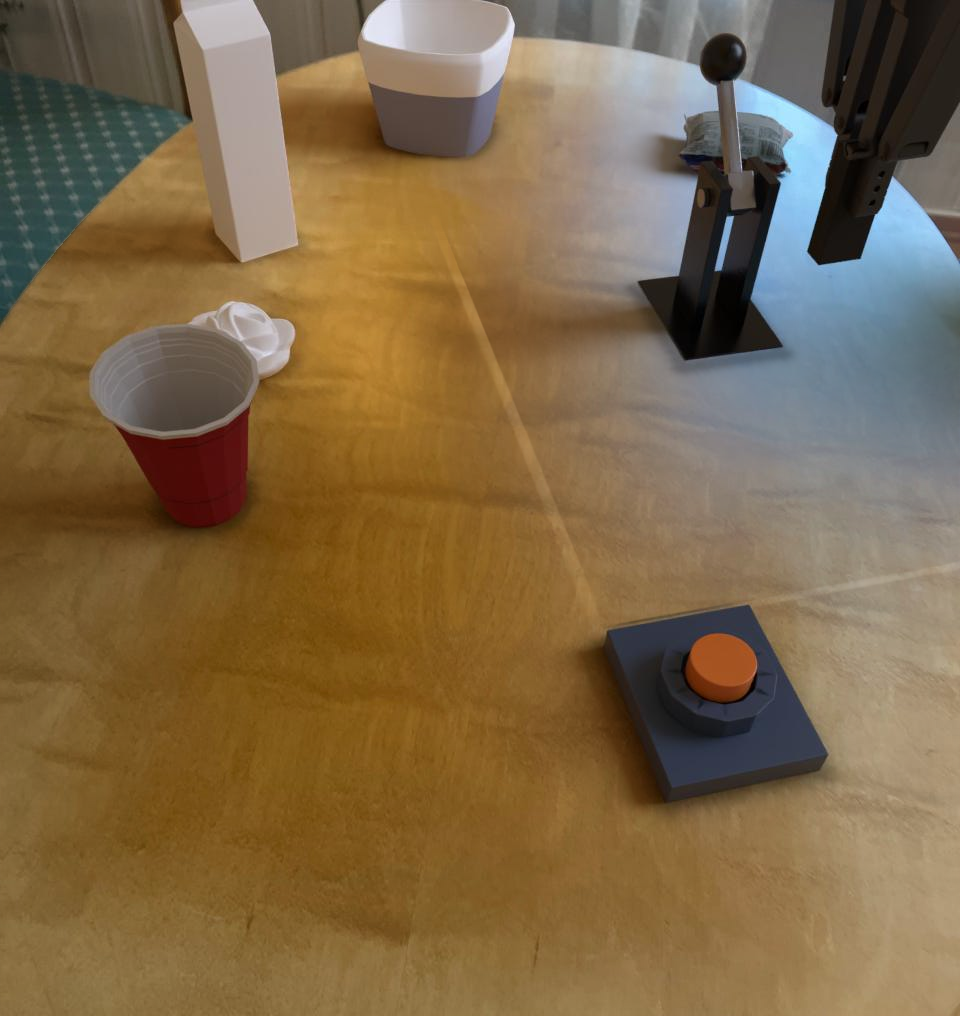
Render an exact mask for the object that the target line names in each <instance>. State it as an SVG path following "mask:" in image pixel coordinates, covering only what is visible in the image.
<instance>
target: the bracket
mask: <svg viewBox="0 0 960 1016" xmlns="http://www.w3.org/2000/svg"><path fill="white" fill-rule="evenodd" d="M751 170H753V175H754V186H755V197H756V208H754V209H752V210H751V211H749V212H747V213H745V214H744V215H738V216H733V219H732V222H731V227H730V230H729V236H728V240H727V243H726V248H725V253H724V257H723V262H722V266H721V270H716V268H717V267H716V266H717V263H718V257H719V253H720V249H721V245H722V240H723V235H724V231H725V227H726V223H727V222H726V221H727V218H728V217H727V214H728V209H729V205H730V200H731V196H732V192H733V188H732V186H731V185H730V184H729V182H728V181H727V180H726V179H725V177H724V174H723V172H720V171H719V169H718V168H717V167H716V166H715V164H714V163H713V162H712V161H708V162H701V164H700V170H698V174H697V175H698V176H697V181H696V185H695V191H694V196H693V201H692V205H691V211H690V217H689V221H688V227H687V232H686V236H685V242H684V246H683V253H682V257H681V263H680V268H679V273H678V275H674V276H665V277H657V278H649V279H640V280H638V284H639V286H640V288H641V289H642V291H643V292H644V294H645V296H646V297H647V299H648V301H649V302H650V304H651V306H652V307H653V309H654V312H655V313H656V314H657V316H658V318H659V320H660V321H661V323H662V325H663V326H664V329H665V330H666V331H667V333H668V335H669V337H670V338H671V341H673V344H674V345H675V346H676V348H677V349H678V352H679V353H680V355H681V357H682V358H683V360H684V361H694V360H700V359H709V358H714V357H716V358H717V357H723V356H729V355H735V354H744V353H750V352H758V351H765V350H772V349H773V350H774V349H779V348H784V345H783V344H782V342H781V341H780V339H779V338H778V336H777V335H776V333H775V332H774V330H773V329H772V327H771V326H770V324H769V323H768V321H766V319H765V318H764V316H763V315H762V313H761V312H760V311H759V309H758V308H757V306H756V305H755V303H754V302H753V300H752V295H753V291H754V287H755V284H756V280H757V277H758V273H759V268H760V265H761V261H762V257H763V254H764V250H765V246H766V243H767V239H768V235H769V230H770V227H771V223H772V220H773V216H774V212H775V208H776V204H777V200H778V196H779V193H780V189H781V185H782V182H781V181H780V180H779V179H778V177H777V175H774V174H773V173H772V172H771V170H770V169H769V168H768V167H767V166H766V164H765V163H764V162H763V161H762V160H761V158H760V157H759V156H755V157H748V158H747V162H746V166H745V170H744V171H751Z"/></svg>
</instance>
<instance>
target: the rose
mask: <svg viewBox="0 0 960 1016" xmlns="http://www.w3.org/2000/svg"><path fill="white" fill-rule="evenodd" d="M186 324H192V325H197V326H203V327H208V328H214V329H218V330H220V331H222V332H224V333H226V334H228V335H230V336H231V337H233V338H235V339H237V340H239V341H241V342H242V343H243V344H244V345H245V347H246V348H247V349H248V350H249V352H250V353H251V354H252V355H253V356H254V358H255V359H256V360H257V368H258V375H259V381H263V380H265V379H268V378H270V377H272V376H275V375H276V374H277V373H279V372H280V371H281V370H282V369H283V368H285V366H286V365H287V364H288V362H289V361H290V354H291V347H292V345H293V343H294V342H295V339H296V329H295V327H294V326H295V325H294V324H293V323H291V322H290V321H289V320H287V319H285V318H272V317H270V316H269V315H268V314H267V313H266V312H265V311H264V310H263V309H261V307H258V306H257V305H254V304H252V303H249V302H241V301H227V302H225V303H223V304H221V306H220V307H219V308H218V309H217V310H210V311H206V312H203V313H200V314H198V315H195V316H194V317H193V318H192V319H191V320H190V321H189V322H187V323H186Z"/></svg>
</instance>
